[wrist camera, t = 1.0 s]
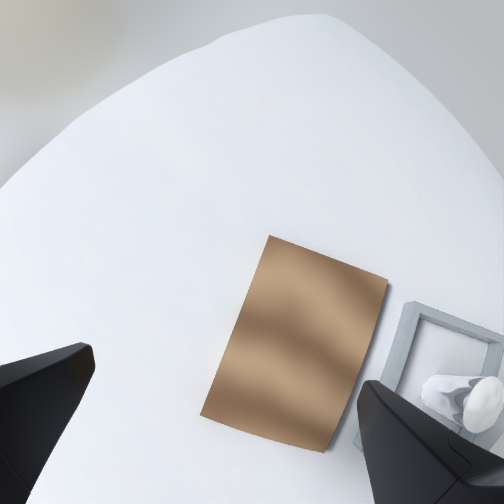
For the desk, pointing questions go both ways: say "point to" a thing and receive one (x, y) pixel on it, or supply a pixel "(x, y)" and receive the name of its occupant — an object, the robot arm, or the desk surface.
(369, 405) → the robot arm
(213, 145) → the desk surface
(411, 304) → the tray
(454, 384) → the milkshake
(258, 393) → the board
